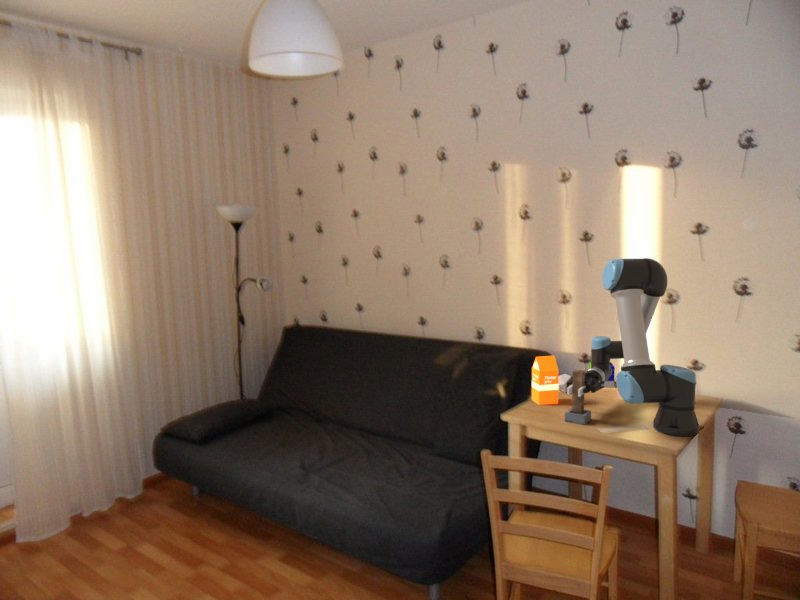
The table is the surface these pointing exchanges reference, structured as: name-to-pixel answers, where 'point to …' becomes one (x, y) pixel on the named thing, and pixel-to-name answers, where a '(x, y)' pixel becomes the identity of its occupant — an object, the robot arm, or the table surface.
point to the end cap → (578, 417)
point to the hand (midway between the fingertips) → (573, 392)
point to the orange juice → (545, 380)
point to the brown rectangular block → (577, 384)
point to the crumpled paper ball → (563, 382)
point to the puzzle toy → (610, 381)
